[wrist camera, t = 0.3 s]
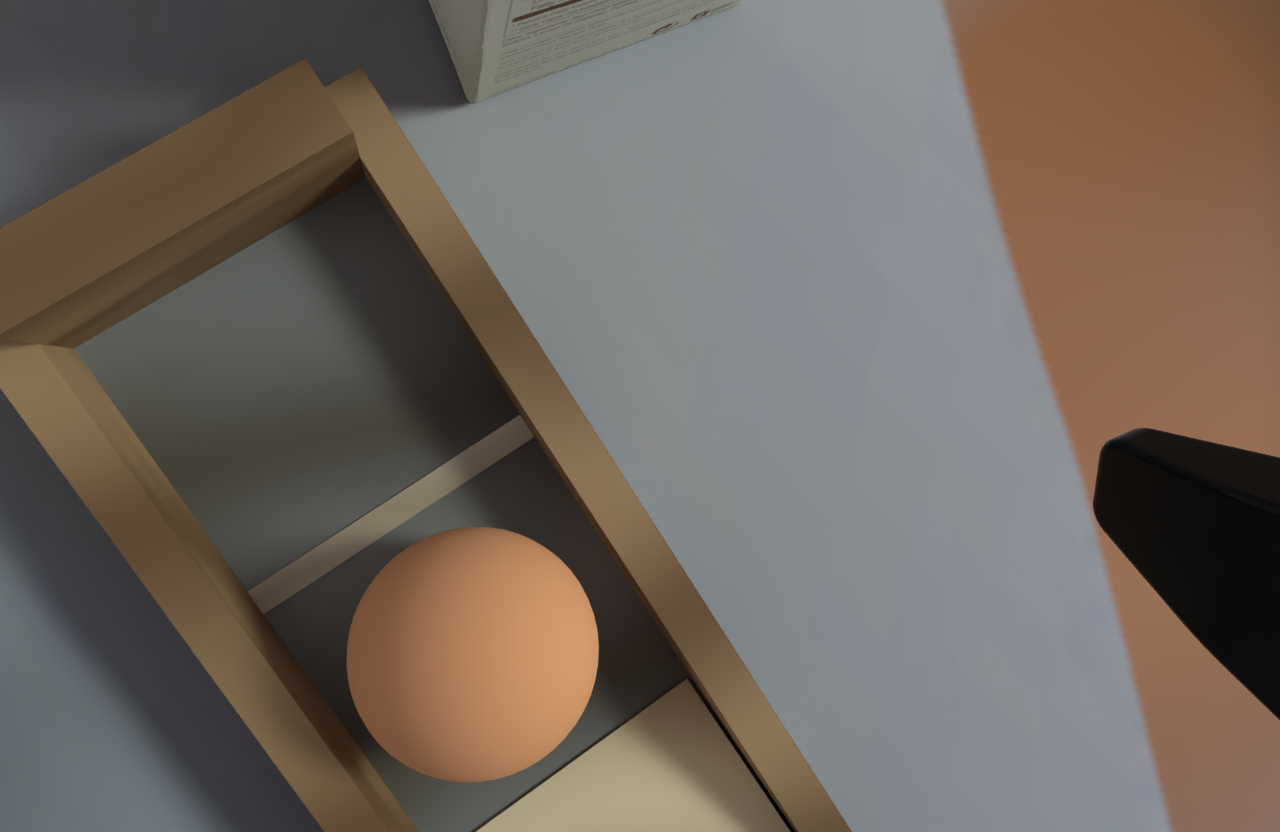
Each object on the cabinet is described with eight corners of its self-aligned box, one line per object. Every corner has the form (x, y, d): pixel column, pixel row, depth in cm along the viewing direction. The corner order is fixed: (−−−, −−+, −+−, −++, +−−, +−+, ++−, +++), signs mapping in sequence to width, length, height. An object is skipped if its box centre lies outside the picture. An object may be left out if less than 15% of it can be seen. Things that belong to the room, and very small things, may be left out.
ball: (621, 592, 23) (673, 645, 19) (494, 774, 23) (513, 877, 18) (444, 469, 22) (450, 490, 18) (307, 655, 22) (275, 730, 17)
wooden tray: (952, 1011, 26) (1064, 1141, 22) (671, 1246, 25) (727, 1439, 20) (368, 104, 23) (354, 31, 18) (-2, 315, 21) (-119, 293, 17)
